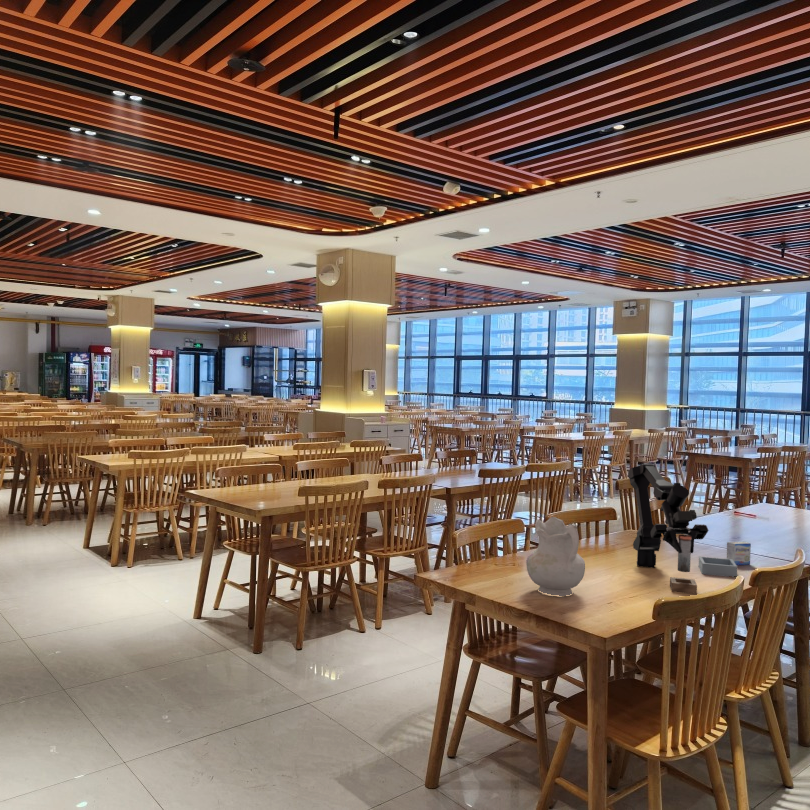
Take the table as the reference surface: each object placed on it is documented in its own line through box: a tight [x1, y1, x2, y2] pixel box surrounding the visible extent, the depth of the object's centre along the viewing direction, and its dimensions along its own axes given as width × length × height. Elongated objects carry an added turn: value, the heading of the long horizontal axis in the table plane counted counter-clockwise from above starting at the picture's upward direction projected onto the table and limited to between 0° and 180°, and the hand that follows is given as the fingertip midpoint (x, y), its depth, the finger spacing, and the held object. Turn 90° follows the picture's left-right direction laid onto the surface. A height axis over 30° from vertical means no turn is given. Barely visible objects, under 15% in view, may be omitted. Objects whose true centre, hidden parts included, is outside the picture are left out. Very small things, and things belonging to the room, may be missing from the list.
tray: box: [697, 555, 738, 578], centre depth 268 cm, size 12×12×4 cm
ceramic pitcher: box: [525, 516, 586, 596], centre depth 234 cm, size 22×20×25 cm
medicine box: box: [726, 541, 752, 566], centre depth 282 cm, size 8×4×9 cm, turn 105°
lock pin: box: [677, 534, 692, 573], centre depth 242 cm, size 4×4×12 cm
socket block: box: [669, 576, 698, 595], centre depth 242 cm, size 8×8×3 cm
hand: (686, 552), depth 240 cm, fingers closed on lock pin, 4 cm apart
